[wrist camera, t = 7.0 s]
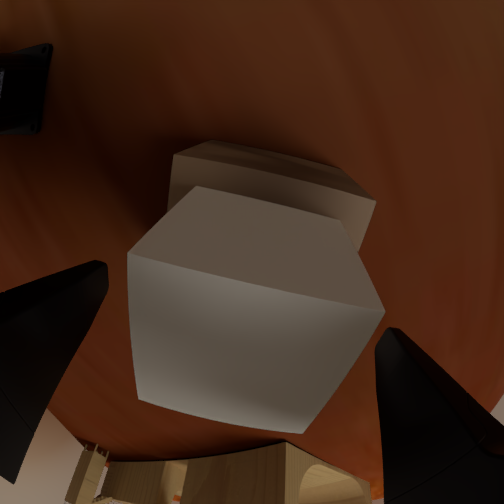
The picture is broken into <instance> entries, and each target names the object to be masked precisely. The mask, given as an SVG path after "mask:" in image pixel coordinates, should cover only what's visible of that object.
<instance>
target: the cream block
mask: <svg viewBox="0 0 504 504" xmlns="http://www.w3.org/2000/svg"><path fill="white" fill-rule="evenodd" d="M127 270H128V302H129V319H130V333H131V344H132V354H133V363H134V371H135V379H136V386H137V393H138V399H140V400H143V401H146V402H149V403H152V404H155V405H158V406H162V407H165V408H168V409H172V410H175V411H179V412H183V413H186V414H190V415H194V416H198V417H202V418H207V419H211V420H215V421H220V422H225V423H230V424H235V425H241V426H246V427H252V428H259V429H266V430H273V431H281V432H290V433H300V434H302V433H303V432H304V431H305V430H306V428H307V427H308V426H309V425H310V424H311V422H312V421H313V420H314V419H315V417H316V416H317V415H318V413H319V412H320V411H321V409H322V408H323V407H324V406H325V404H326V403H327V402H328V400H329V399H330V397H331V396H332V395H333V393H334V392H335V391H336V389H337V388H338V386H339V385H340V384H341V382H342V381H343V379H344V378H345V376H346V375H347V373H348V372H349V370H350V369H351V367H352V366H353V364H354V363H355V361H356V360H357V358H358V357H359V355H360V354H361V352H362V350H363V349H364V347H365V346H366V344H367V342H368V341H369V339H370V338H371V336H372V334H373V333H374V331H375V329H376V327H377V326H378V324H379V322H380V321H381V319H382V317H383V315H384V313H385V310H384V307H383V305H382V303H381V301H380V299H379V296H378V294H377V292H376V290H375V288H374V286H373V284H372V282H371V279H370V277H369V275H368V273H367V271H366V269H365V267H364V265H363V263H362V261H361V259H360V257H359V255H358V253H357V251H356V249H355V247H354V246H353V244H352V242H351V240H350V238H349V236H348V234H347V232H346V230H345V229H344V227H343V225H342V223H341V221H340V220H337V219H333V218H329V217H326V216H322V215H318V214H315V213H311V212H307V211H303V210H299V209H295V208H291V207H287V206H283V205H279V204H275V203H271V202H267V201H263V200H258V199H254V198H250V197H246V196H241V195H237V194H232V193H228V192H223V191H219V190H214V189H209V188H204V187H200V186H195V187H194V188H193V189H192V190H191V191H190V192H189V193H188V194H187V195H186V196H184V197H183V198H182V199H181V200H180V201H179V202H178V203H177V204H176V205H175V206H174V207H173V208H172V209H171V210H170V211H169V212H168V213H167V214H165V215H164V216H163V217H162V218H161V219H160V220H159V221H158V222H157V223H156V224H155V225H154V226H153V227H152V228H151V229H150V230H149V231H148V232H147V233H146V234H145V235H144V236H143V237H142V238H141V239H140V240H139V241H138V242H137V243H136V244H135V245H134V247H133V248H132V249H131V250H130V251H129V252H128V253H127Z"/></svg>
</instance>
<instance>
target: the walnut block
mask: <svg viewBox="0 0 504 504" xmlns="http://www.w3.org/2000/svg"><path fill="white" fill-rule="evenodd" d="M195 186H200V187H204V188H209V189H214V190H219V191H223V192H228V193H232V194H237V195H241V196H246V197H250V198H254V199H258V200H263V201H267V202H271V203H275V204H279V205H283V206H287V207H291V208H295V209H299V210H303V211H307V212H311V213H315V214H318V215H322V216H326V217H329V218H333V219H337V220H340V221H341V223H342V225H343V227H344V229H345V230H346V232H347V234H348V236H349V238H350V240H351V242H352V244H353V246H354V247H355V249H356V251H357V253H358V251H359V248H360V246H361V243H362V241H363V238H364V235H365V232H366V230H367V227H368V224H369V221H370V219H371V216H372V213H373V210H374V207H375V204H376V200H374V199H373V198H372V197H371V196H370V195H369V194H368V193H367V192H366V191H365V190H364V189H363V188H362V187H361V186H360V185H358V184H357V183H356V182H355V181H354V180H353V179H352V178H351V177H350V176H348V175H347V174H346V173H345V172H344V171H343V170H341V169H338V168H335V167H331V166H328V165H324V164H320V163H317V162H313V161H309V160H305V159H301V158H297V157H293V156H289V155H285V154H281V153H276V152H272V151H268V150H263V149H258V148H254V147H249V146H244V145H239V144H233V143H228V142H223V141H217V140H209V141H207V142H204V143H201V144H199V145H196V146H193V147H191V148H188V149H186V150H183V151H181V152H178V153H176V154H174V156H173V163H172V171H171V179H170V188H169V197H168V206H167V213H168V212H169V211H170V210H171V209H172V208H173V207H174V206H175V205H176V204H177V203H178V202H179V201H180V200H181V199H182V198H183V197H184V196H186V195H187V194H188V193H189V192H190V191H191V190H192V189H193V188H194V187H195Z"/></svg>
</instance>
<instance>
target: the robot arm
mask: <svg viewBox="0 0 504 504" xmlns="http://www.w3.org/2000/svg"><path fill="white" fill-rule="evenodd" d="M52 50H53V46H52V44H48V43H45V44H41V45H37V46H33V47H29V48H25V49H22V50H19V51H15V52H12V53H0V134H22V135H33V134H37V133H39V131H40V129H41V119H42V109H43V101H44V93H45V86H46V80H47V74H48V69H49V63H50V59H51V54H52ZM45 51H46V52H45ZM34 126H35V129H34ZM108 288H109V281H108V267H107V264H106V263H105V262H101V261H98V260H93V261H90V262H87V263H84V264H81V265H78V266H75V267H72V268H69V269H66V270H63V271H60V272H57V273H54V274H51V275H48V276H46V277H43V278H40V279H37V280H34V281H31V282H29V283H26V284H23V285H20V286H18V287H15V288H12V289H9V290H7V291H5V293H4V292H1V293H0V476H2V477H3V478H5V479H6V480H7V481H9V482H11V483H12V484H14V483H15V481H16V479H17V476H18V473H19V470H20V467H21V465H22V463H23V460H24V457H25V455H26V452H27V450H28V448H29V445H30V443H31V441H32V438H33V436H34V432H35V431H36V429H37V427H38V424H39V422H40V420H41V418H42V416H43V414H44V412H45V410H46V408H47V406H48V404H49V401H50V399H51V397H52V395H53V394H54V392H55V390H56V388H57V386H58V384H59V382H60V380H61V378H62V376H63V374H64V373H65V371H66V369H67V367H68V365H69V363H70V362H71V360H72V358H73V356H74V355H75V353H76V351H77V349H78V348H79V346H80V344H81V342H82V341H83V339H84V337H85V336H86V334H87V332H88V331H89V329H90V327H91V325H92V323H93V321H94V318H95V316H96V314H97V312H98V310H99V308H100V306H101V304H102V302H103V300H104V298H105V296H106V294H107V291H108ZM375 370H376V393H377V402H378V411H379V420H380V431H381V443H382V457H383V479H384V504H504V426H503V425H502V424H501V423H500V422H499V421H498V420H497V419H495V418H494V417H493V416H492V415H491V414H490V413H489V412H488V411H486V410H485V409H484V408H483V407H482V406H481V405H480V404H479V403H478V402H477V401H476V400H475V399H474V398H473V397H472V396H471V395H470V394H469V393H466V390H464V389H463V388H462V387H461V386H460V385H459V384H458V383H457V382H456V381H455V380H454V379H453V378H452V377H451V376H450V375H449V374H448V373H447V372H446V371H445V370H444V369H443V368H442V367H440V366H439V365H438V364H437V363H436V362H435V361H434V360H433V359H432V358H431V357H430V356H429V355H428V354H427V353H425V352H424V351H423V350H422V349H421V348H420V347H419V346H418V345H417V344H416V343H415V342H413V341H412V340H411V339H410V338H409V337H408V336H407V335H406V334H405V333H404V332H402V331H401V330H400V329H398V328H392V327H389V328H387V329H386V330H385V332H384V333H383V335H382V337H381V338H380V340H379V341H378V343H377V345H376V347H375Z"/></svg>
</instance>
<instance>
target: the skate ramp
mask: <svg viewBox="0 0 504 504" xmlns="http://www.w3.org/2000/svg"><path fill="white" fill-rule="evenodd" d="M97 447H98V444H96V447H95V449H94V451H85V450H86V448H87V444H86V445H85V448H84V451H82V454H81V456H80V459H79V462H78V465H77V467H76V470H75V472H74V475H73V478H72V481H71V483H70V486H69V489H68V491H67V494H66V497H65V501H66V502H69V503H71V504H105V503H108V504H109V501H110V502H112V500H114V501H116V502H119V503H123V504H171V502H172V499H173V497H174V495H175V494H176V495H179V496H181V499H180V504H372V502H371V492H370V483H369V482H367V481H364V480H362V479H360V478H358V477H356V476H354V475H352V474H349V473H347V472H345V471H343V470H341V469H339V468H337V467H335V466H333V465H330V464H328V463H326V462H324V461H322V460H320V459H318V458H316V457H314V456H312V455H310V454H308V453H306V452H304V451H302V450H300V449H298V448H296V447H295V446H293V445H291V444H289V443H287V442H283V443H279V444H275V445H271V446H267V447H262V448H258V449H253V450H248V451H243V452H237V453H231V454H225V455H219V456H212V457H204V458H195V459H187V460H175V461H153V462H112V461H111V462H110V465H109V468H108V471H107V474H106V477H105V480H104V483H103V486H102V489H101V494H100V495H98V496H97V497H96V498H94V495H95V492H96V489H97V486H98V483H99V480H100V477H101V474H102V471H103V468H104V465H105V463H106V460H107V457H108V454H109V451H107V454H106V457H104V456H102V454H103V451H101V454H98V451H96V450H97ZM93 498H94V499H93Z"/></svg>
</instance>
